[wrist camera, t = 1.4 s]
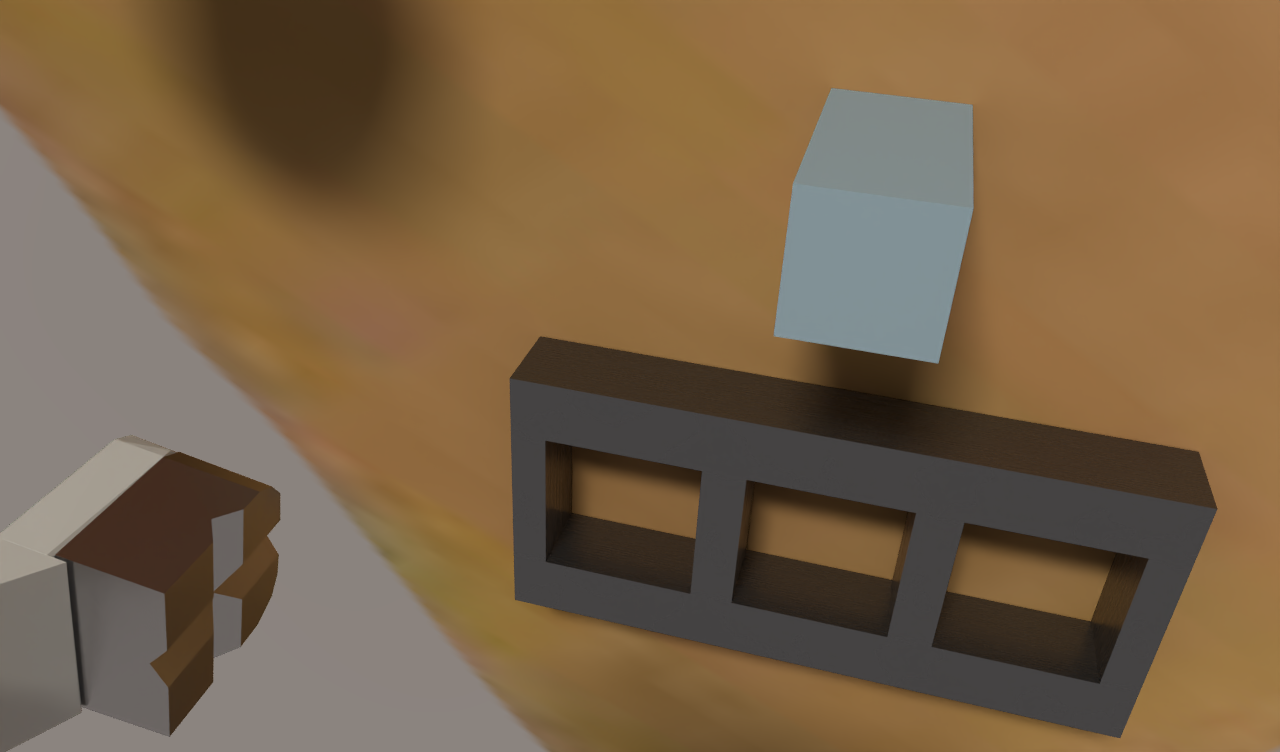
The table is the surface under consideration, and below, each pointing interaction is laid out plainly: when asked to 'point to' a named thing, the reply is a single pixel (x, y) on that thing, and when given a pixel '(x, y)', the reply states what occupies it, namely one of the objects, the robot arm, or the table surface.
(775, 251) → the table surface
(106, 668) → the robot arm
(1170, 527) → the hole rail
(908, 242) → the square block
